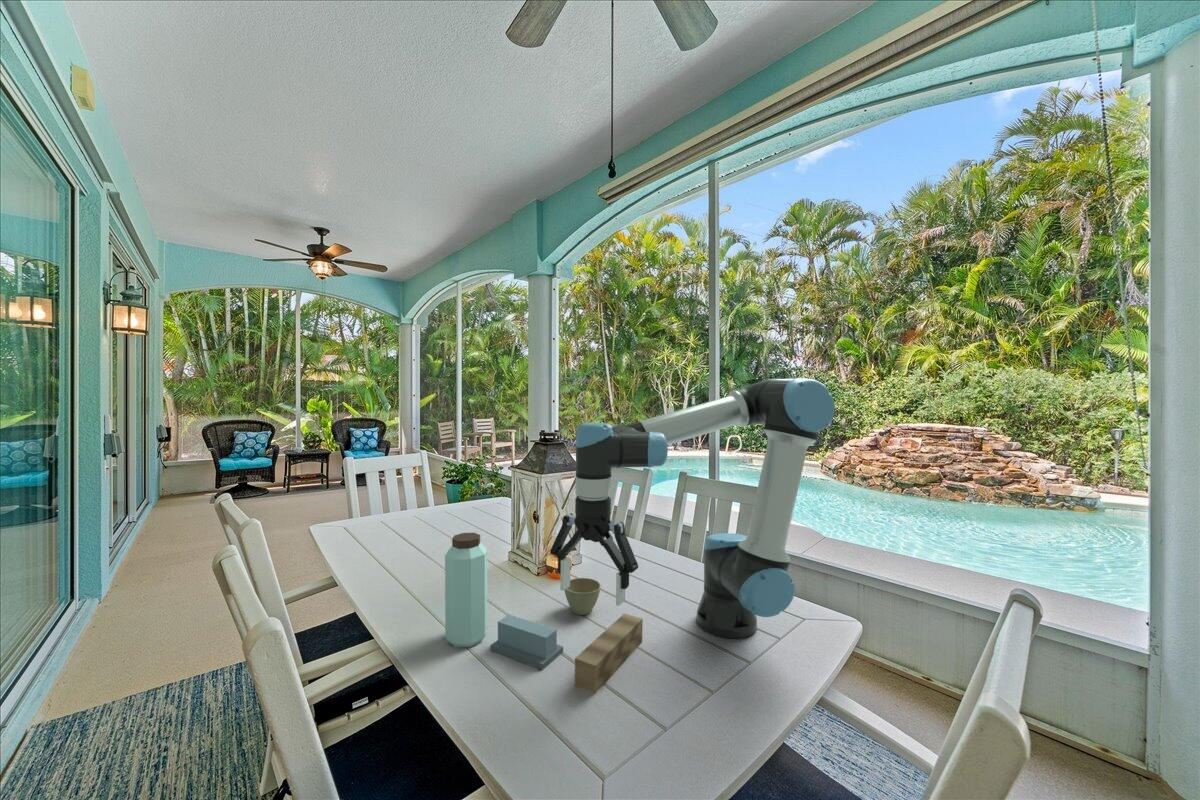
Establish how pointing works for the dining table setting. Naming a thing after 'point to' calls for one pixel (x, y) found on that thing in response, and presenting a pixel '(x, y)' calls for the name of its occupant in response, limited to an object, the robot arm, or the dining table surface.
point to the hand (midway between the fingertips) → (592, 595)
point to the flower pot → (582, 595)
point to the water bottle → (466, 591)
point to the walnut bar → (607, 653)
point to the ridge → (526, 641)
